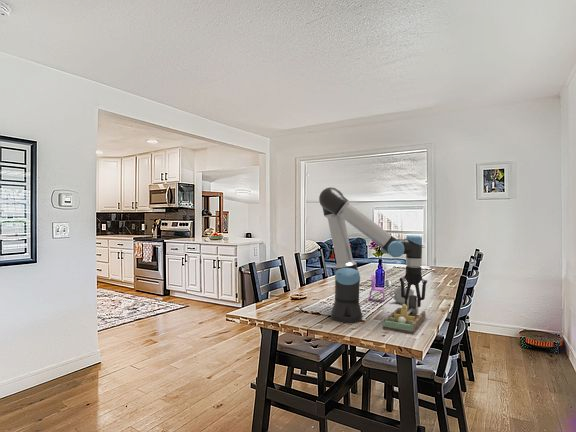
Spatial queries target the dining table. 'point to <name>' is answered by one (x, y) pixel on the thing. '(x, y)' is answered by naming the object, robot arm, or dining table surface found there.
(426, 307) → the dining table surface
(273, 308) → the dining table surface
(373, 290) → the chair
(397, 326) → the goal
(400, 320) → the ball
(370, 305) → the dining table surface
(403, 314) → the kicker
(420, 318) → the tray
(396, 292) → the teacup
